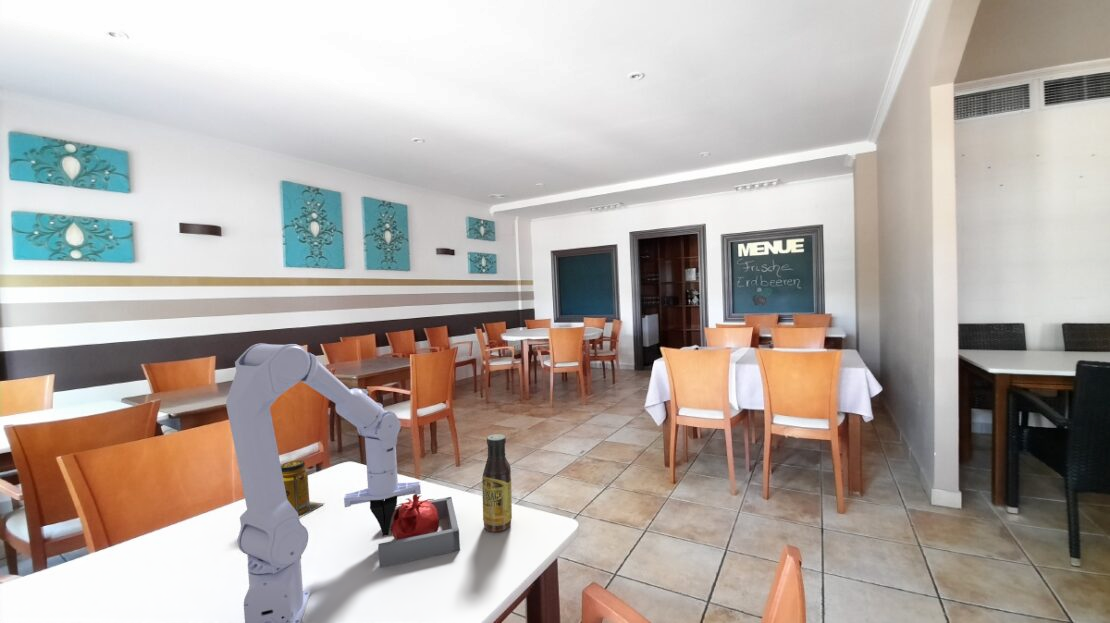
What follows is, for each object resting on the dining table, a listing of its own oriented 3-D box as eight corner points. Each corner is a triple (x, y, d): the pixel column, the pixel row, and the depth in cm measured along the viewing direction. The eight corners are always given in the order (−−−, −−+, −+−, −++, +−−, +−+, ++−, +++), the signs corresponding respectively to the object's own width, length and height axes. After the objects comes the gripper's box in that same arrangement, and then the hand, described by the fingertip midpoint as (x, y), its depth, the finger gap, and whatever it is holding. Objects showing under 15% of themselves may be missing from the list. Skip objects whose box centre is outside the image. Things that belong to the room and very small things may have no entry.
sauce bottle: (477, 530, 96) (473, 439, 95) (494, 516, 102) (490, 430, 101) (502, 536, 93) (498, 442, 92) (518, 522, 99) (514, 433, 98)
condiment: (272, 517, 106) (269, 467, 106) (303, 501, 114) (300, 454, 114) (295, 521, 104) (291, 470, 103) (325, 504, 112) (322, 457, 111)
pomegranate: (424, 521, 101) (422, 480, 101) (449, 535, 95) (447, 492, 94) (382, 539, 94) (380, 495, 94) (405, 556, 87) (403, 509, 87)
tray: (460, 550, 89) (459, 530, 89) (379, 567, 84) (378, 547, 84) (452, 513, 104) (451, 496, 104) (383, 526, 99) (382, 509, 99)
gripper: (418, 456, 98) (421, 517, 98) (345, 467, 93) (349, 531, 93) (419, 467, 91) (423, 533, 91) (341, 480, 86) (345, 548, 87)
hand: (385, 533), depth 92 cm, fingers closed
